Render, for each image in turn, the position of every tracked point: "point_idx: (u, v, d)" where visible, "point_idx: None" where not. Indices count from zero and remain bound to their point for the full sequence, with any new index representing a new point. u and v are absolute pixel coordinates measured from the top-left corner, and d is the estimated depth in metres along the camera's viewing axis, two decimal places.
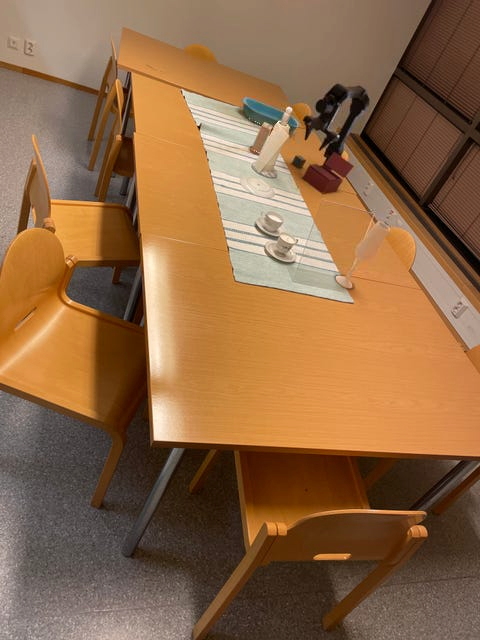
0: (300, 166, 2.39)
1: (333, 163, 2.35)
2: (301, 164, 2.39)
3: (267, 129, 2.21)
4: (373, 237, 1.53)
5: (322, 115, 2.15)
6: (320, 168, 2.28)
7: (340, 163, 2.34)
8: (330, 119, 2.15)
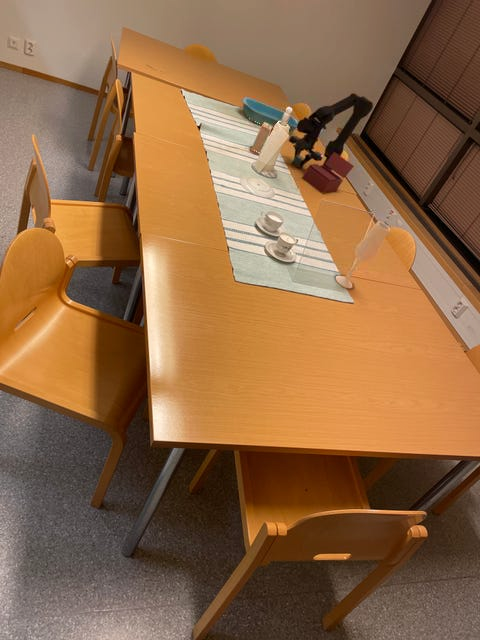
0: (300, 166, 2.39)
1: (333, 163, 2.35)
2: None
3: (267, 129, 2.21)
4: (373, 237, 1.53)
5: (306, 136, 2.30)
6: (320, 168, 2.28)
7: (340, 163, 2.34)
8: (314, 140, 2.30)
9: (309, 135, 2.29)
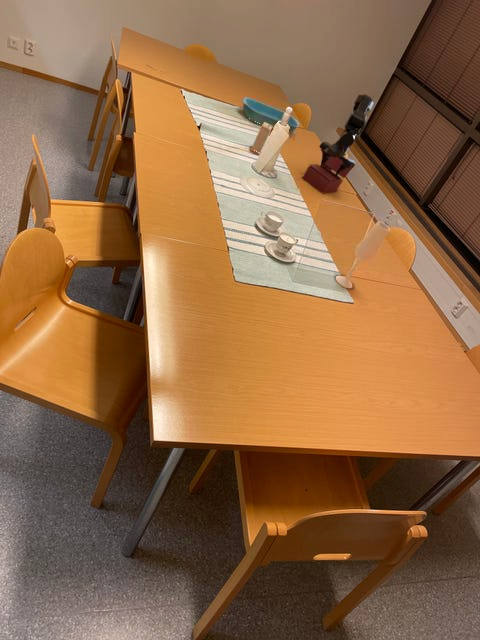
0: None
1: (333, 163, 2.35)
2: None
3: (267, 129, 2.21)
4: (373, 237, 1.53)
5: (339, 142, 2.20)
6: (320, 168, 2.28)
7: (340, 163, 2.34)
8: (347, 146, 2.20)
9: None
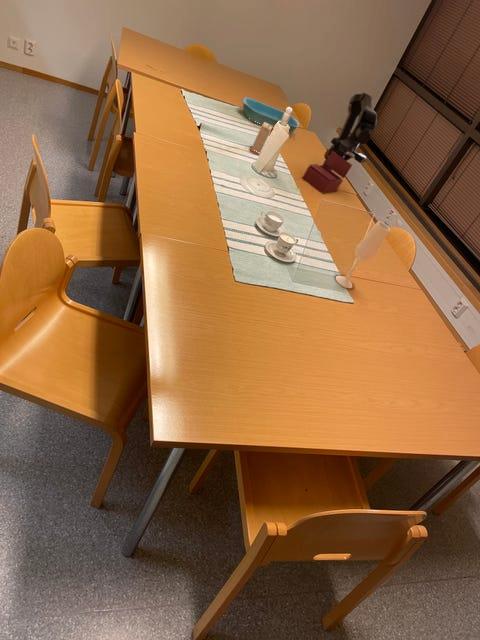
0: None
1: (332, 163, 2.34)
2: None
3: (267, 129, 2.21)
4: (373, 237, 1.53)
5: (350, 138, 2.25)
6: (320, 168, 2.28)
7: (339, 162, 2.32)
8: (358, 141, 2.25)
9: (353, 136, 2.24)
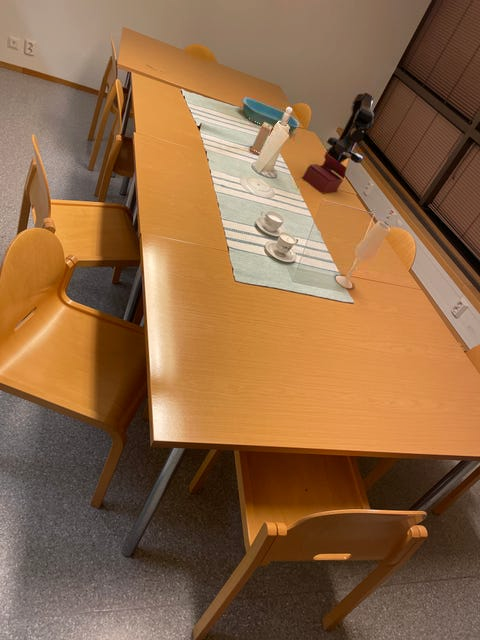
0: None
1: (330, 164, 2.33)
2: None
3: (267, 129, 2.21)
4: (373, 237, 1.53)
5: (346, 137, 2.22)
6: (320, 168, 2.28)
7: (335, 164, 2.31)
8: (354, 141, 2.22)
9: (349, 136, 2.21)
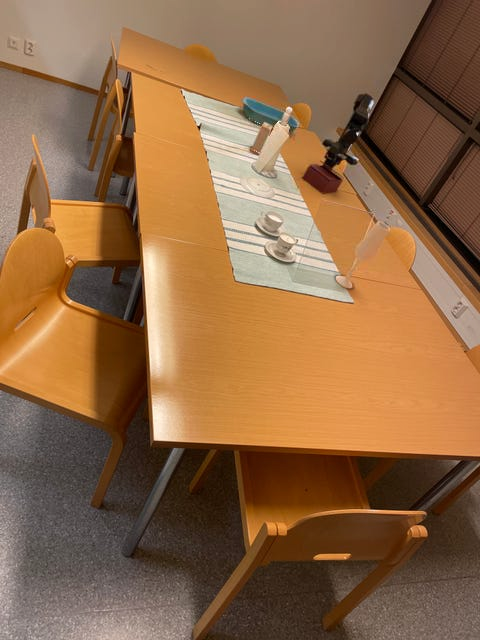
0: None
1: None
2: None
3: (267, 129, 2.21)
4: (373, 237, 1.53)
5: (342, 139, 2.20)
6: (320, 168, 2.28)
7: (331, 169, 2.31)
8: (349, 143, 2.20)
9: (344, 138, 2.19)
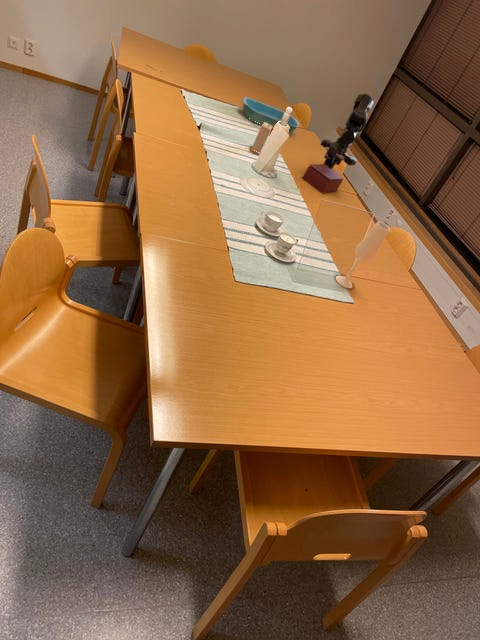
0: None
1: None
2: None
3: (267, 129, 2.21)
4: (373, 237, 1.53)
5: (340, 140, 2.21)
6: (320, 168, 2.28)
7: None
8: (348, 144, 2.21)
9: None
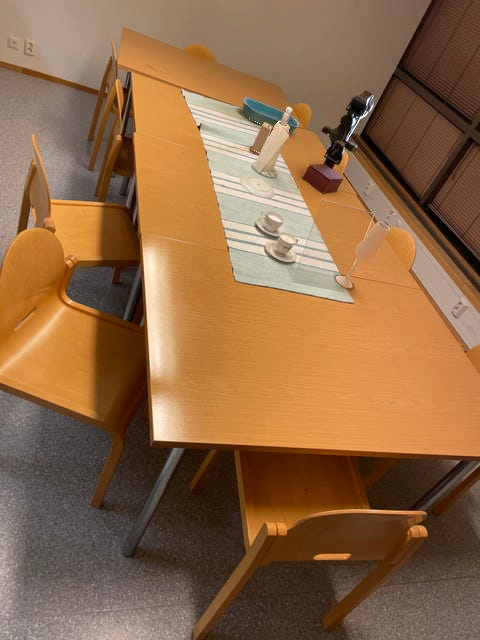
0: None
1: None
2: None
3: (267, 129, 2.21)
4: (373, 237, 1.53)
5: (341, 126, 2.21)
6: (320, 168, 2.28)
7: None
8: (348, 130, 2.22)
9: None
